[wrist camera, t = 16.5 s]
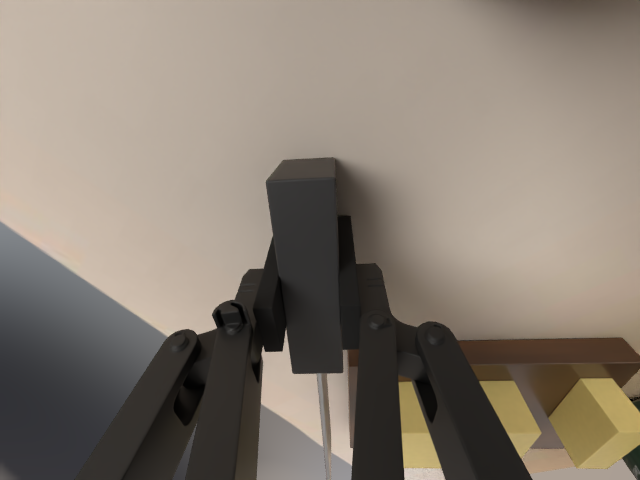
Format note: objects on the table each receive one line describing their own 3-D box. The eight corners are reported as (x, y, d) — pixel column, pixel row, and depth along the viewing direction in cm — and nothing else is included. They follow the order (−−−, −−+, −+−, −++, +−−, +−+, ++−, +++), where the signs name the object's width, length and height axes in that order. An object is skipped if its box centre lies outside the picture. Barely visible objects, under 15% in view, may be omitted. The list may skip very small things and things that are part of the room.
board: (347, 342, 23) (348, 366, 21) (622, 337, 22) (646, 362, 20) (349, 426, 31) (350, 448, 29) (550, 425, 30) (563, 448, 28)
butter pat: (580, 378, 21) (619, 432, 18) (612, 377, 21) (656, 432, 18) (547, 417, 25) (576, 468, 22) (575, 417, 24) (607, 469, 22)
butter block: (375, 381, 22) (382, 433, 19) (514, 380, 22) (542, 433, 19) (372, 419, 26) (378, 467, 23) (492, 419, 25) (513, 469, 22)
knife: (282, 159, 15) (265, 180, 11) (334, 157, 14) (335, 177, 11) (313, 436, 24) (310, 499, 20) (345, 436, 24) (348, 500, 20)
